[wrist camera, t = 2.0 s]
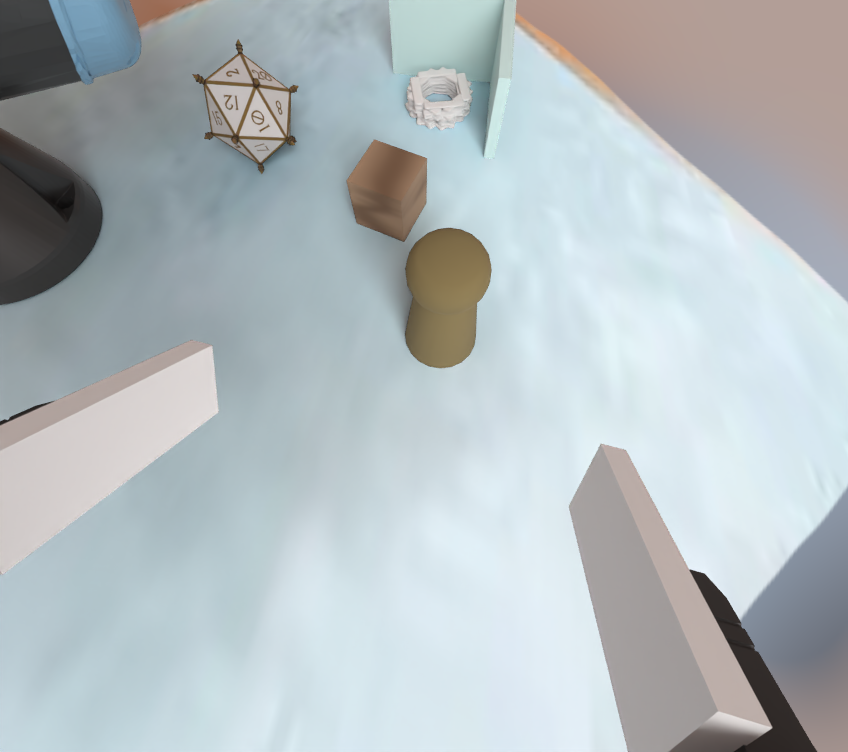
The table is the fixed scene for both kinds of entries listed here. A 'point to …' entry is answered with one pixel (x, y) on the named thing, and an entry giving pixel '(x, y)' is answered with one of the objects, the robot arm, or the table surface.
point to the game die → (248, 108)
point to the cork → (445, 295)
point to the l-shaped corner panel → (454, 58)
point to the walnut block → (388, 189)
